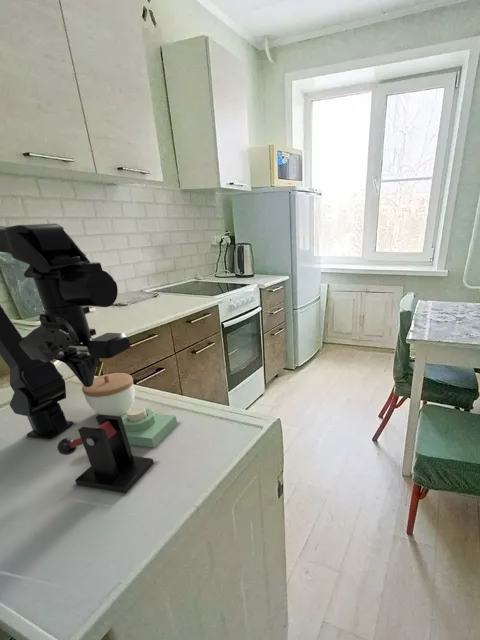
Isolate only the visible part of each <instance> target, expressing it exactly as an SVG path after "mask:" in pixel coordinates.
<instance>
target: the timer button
mask: <svg viewBox="0 0 480 640" xmlns="http://www.w3.org/2000/svg"><path fill="white" fill-rule="evenodd" d="M145 409H146V408H145V407H144V406H142V405H141V406H140V405H139V406H133V407H130V409H129V410H128V411H127V416H128V420H129V421H131V422H135V421H140V420H142V419H144V418H146V417H147V414H146V411H145Z"/></svg>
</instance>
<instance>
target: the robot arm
mask: <svg viewBox="0 0 480 640" xmlns="http://www.w3.org/2000/svg"><path fill="white" fill-rule="evenodd" d="M0 253H6V254H10V255H11V256H12V258H13V259H14V260H15V261H19V262H21V263H24V264H27V265H29V266H28V267H27V269H26V270H25V271H24V273H23V276H24V278H26V279H33V281H34V284H35V287H36V291H37V293H38V296H39V299H40V302H41V305H42V307H43V310H44V312H42V313H39V314H38V315H39V317H38V319H39V322H40V325H39V326H38V327H36V328H34V329H33V330H31V331H30V332H29V333H28V334H27V335H26V336H22V334H21V332H20V331H19V330H18V328H17V327H16V326H15V324H14V322H13V321H12V319H11V318H10V317H9V315H8V314H7V312H6V311H5V309H4V308H3V306H2V304H0V357H1V358H2V360H3V361H4V362H5V364H6V365H7V366H8V368H9V386H10V387H11V389H12V391H13V394H12V397H11V400H10V402H9V407H10V409H11V410H12V412H13V413H14V414H15V415H18V416H19V415H20V416H24V417H27V419H28V421H29V424H30V426H31V429H32V430H31V431H29V432H28V433H27V434H26V436H27V437H30V438H37V439H45V440H52V439H53V438H55V437H56V436H58V435H60V434H61V433H62V432H64V431H65V430H67V429H68V428H69V427H71V426H73V425H74V421H72V420H67V417H66V416H65V413H64V411H63V409H62V407H61V404H60V401H62V400H65V399H67V387H66V380H65V379H64V376H63V375H62V374H61V373H60V372H59V370H58V369H57V367H56V365H55V363H54V362H53V360H56V361H59V362H60V363H63V364H65V365H66V366H67V367H68V368H69V369H70V370H71V371H72V373H73V374H74V375H75V376H76V377H77V379H78V380H79V381H80V382H81V384H82V386H83V385H84V386H85V387H91V386H92V385H93V381H94V378H95V376H96V372H97V367H98V364H99V361H100V359H106V360H107V359H111V358H113V357H116V356H118V355H119V354H122V353H123V352H126V351H127V350H128V349H130V348H132V347H131V343H130V339H129V336H127V335H126V334H125V333H123V332H105V333H103V334H101V335H99V336H97V337H94V338H93V337H92V336H95V335H97V330H96V328H90V326H89V323H88V320H87V319H88V318H87V316H86V314H89V313H91V311H90V307H93V308H109V307H111V306H113V304H115V302H116V300H117V299H118V291H119V289H118V284H117V282H116V281H115V279H114V278H113V277H112V275H111V274H110V273H109V272H108V271H106V270H103V268H102V263H101V262H99V261H94V262H91V261H90V259H88V256H87V255H86V254H85V253H84V252H83V251H82V250H81V248H80V247H79V246H78V245H77V243H76V242H75V240H73V239H72V237H71V236H70V235H69V234H68V233H67V232H66V231H65V229H64V227H63V226H62V225H60V224H58V223H38V224H37V223H36V224H35V223H33V224H17V225H11V226H3V225H0Z"/></svg>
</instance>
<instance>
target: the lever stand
mask: <svg viewBox="0 0 480 640" xmlns="http://www.w3.org/2000/svg"><path fill="white" fill-rule="evenodd" d="M121 416H122V415H121ZM121 416H111V415H102V414H98V415H97V416H96V417H95V419H96V422H97V426H98V425H100V424H102V423H104V422H107V421H109V422H110V423H111V425H112V426H113V427H114V429H115V430H116V431H117V433H115V434H114V435H113V436H112V437H110V438H109V439H108V438H107V434H106V431H105V429H98V428H95V427H88V426H81V427H80V428H78V429H77V431H78V433H79V436H80V437H79V438H81V439H82V442H83V444H82V445H83V448H84V450H85V453H86V455H87V458H88V462H89V464H90V466H89V467H88V468H87V469H86V470H85V471H84V472H82V473H81V474H80V475H79V476H78V477H77V478H75V479H74V481H75V484H76V486H79V487H86V488H91V489H96V490H104V491H109V492H115V493H121V494H127V493H128V492H129V491H130V490H131V489H132V488H133V487H134V486H135V485H136V483H137V482H138V481H139V480H140V479H141V478H142V477H143V476H144V475H145V474H146V473H147V472H148V471H149V470H150V468H151V467H152V466H153V465H154V464H155V463H154V459H153V458H151V457H143V456H137V455H136V456H135V455H133V452H132V448H131V444H129V441H128V438H127V434H126V431H125V428H124V424H123V421H122V417H121Z"/></svg>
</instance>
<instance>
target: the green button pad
mask: <svg viewBox="0 0 480 640" xmlns="http://www.w3.org/2000/svg"><path fill="white" fill-rule="evenodd" d="M145 411H146V414H147V417H146V418H144V419H142V420H140V421H135V422H131V421H129V420H128V416H127V413H125V414H123V415H121V417H122V421H123V424H124V428H125V431H126V434H127V438H128V441H129V445H130V446H131V445H133V446H139V447H146V448H155V447H156V446H157V445H158V444H159V443H160V442H161V441H162V440H163V439H164V438H165V437H166V436H167V435H168V434H169V433H171V431H172V430H173V429H174V428H175V427H176V426H177V425H178V421H177V416H176V415H174V414H166V413H165V414H164V413H155V412H154V411H153V410H152V409H150V408H145Z"/></svg>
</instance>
